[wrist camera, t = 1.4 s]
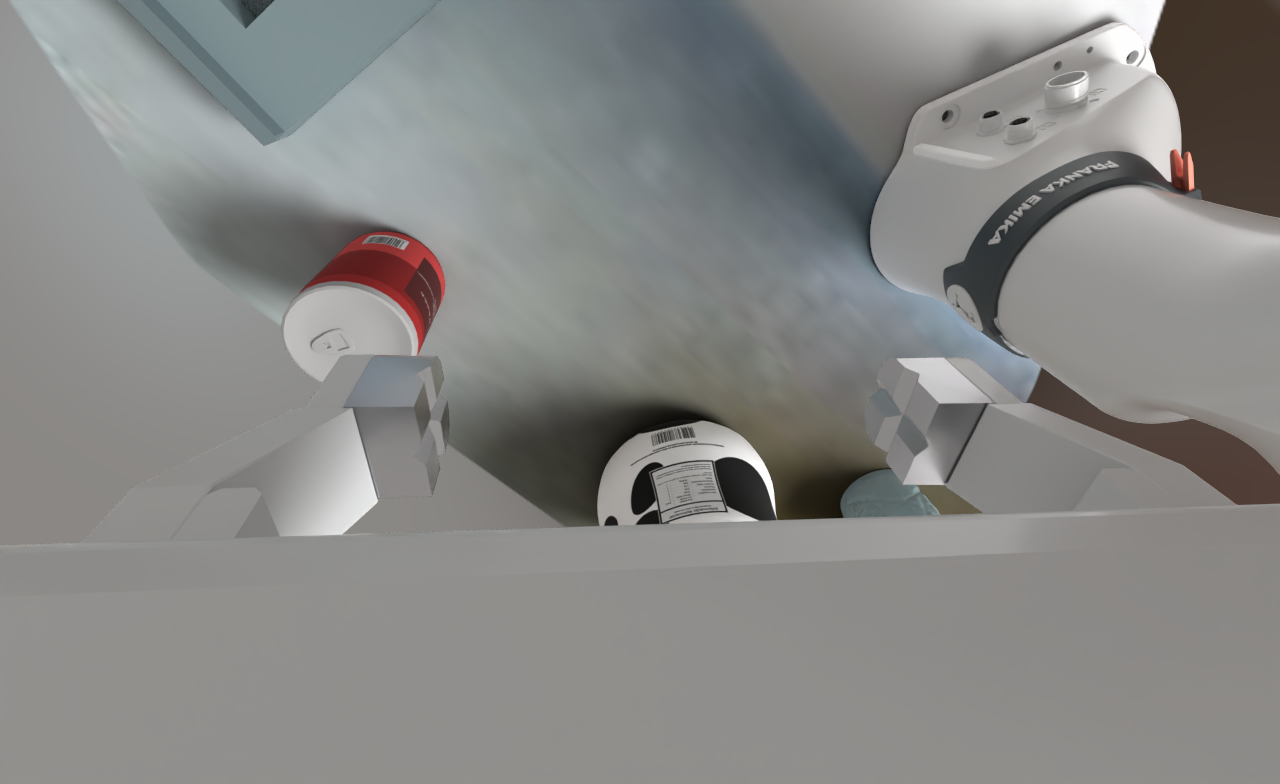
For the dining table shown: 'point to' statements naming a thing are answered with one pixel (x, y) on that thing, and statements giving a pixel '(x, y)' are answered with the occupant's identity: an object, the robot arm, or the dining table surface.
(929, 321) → the dining table surface
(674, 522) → the milk container
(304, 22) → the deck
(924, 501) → the pale blue cup
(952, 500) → the dining table surface
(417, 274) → the canned food
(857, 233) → the dining table surface
